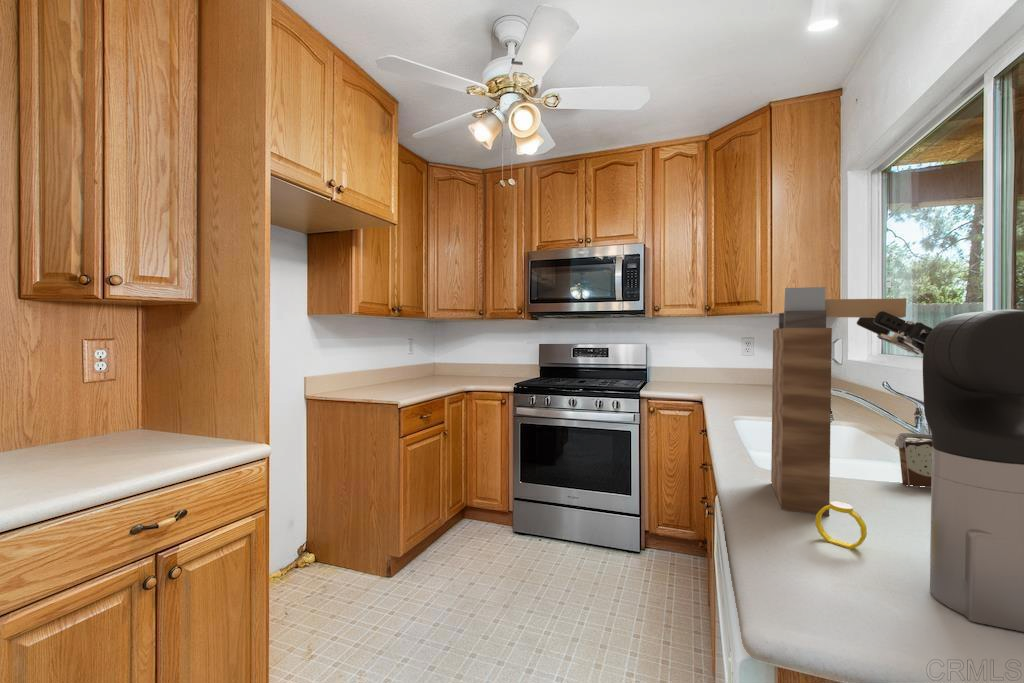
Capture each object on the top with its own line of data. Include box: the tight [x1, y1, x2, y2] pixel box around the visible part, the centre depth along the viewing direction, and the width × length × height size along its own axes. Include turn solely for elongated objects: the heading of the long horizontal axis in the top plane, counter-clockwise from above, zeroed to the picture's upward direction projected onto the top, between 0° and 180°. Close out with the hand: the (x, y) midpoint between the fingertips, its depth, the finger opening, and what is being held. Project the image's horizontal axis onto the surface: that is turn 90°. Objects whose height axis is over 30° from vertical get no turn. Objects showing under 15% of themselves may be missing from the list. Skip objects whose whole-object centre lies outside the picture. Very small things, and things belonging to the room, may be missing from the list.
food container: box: [894, 432, 932, 488], centre depth 95 cm, size 12×6×10 cm, turn 84°
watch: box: [815, 500, 868, 550], centre depth 66 cm, size 6×3×6 cm, turn 38°
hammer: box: [783, 286, 907, 319], centre depth 79 cm, size 6×17×7 cm, turn 59°
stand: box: [770, 310, 833, 517], centre depth 85 cm, size 16×7×35 cm, turn 156°
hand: (867, 317), depth 79 cm, fingers open, 8 cm apart
